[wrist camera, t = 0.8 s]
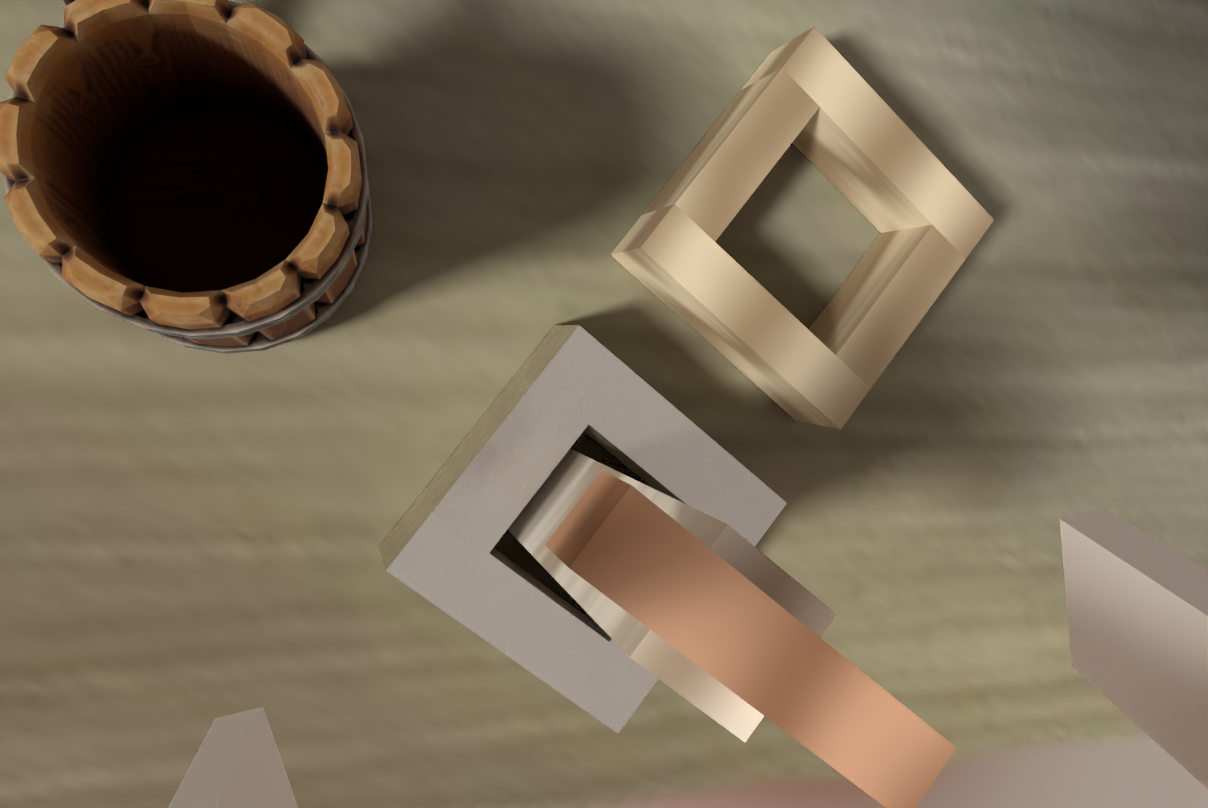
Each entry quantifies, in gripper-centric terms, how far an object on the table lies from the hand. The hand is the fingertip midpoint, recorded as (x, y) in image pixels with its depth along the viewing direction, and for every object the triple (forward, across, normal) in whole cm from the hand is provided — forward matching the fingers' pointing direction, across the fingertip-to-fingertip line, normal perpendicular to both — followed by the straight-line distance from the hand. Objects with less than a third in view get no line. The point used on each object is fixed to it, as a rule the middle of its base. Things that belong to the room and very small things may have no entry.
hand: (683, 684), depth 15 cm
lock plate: (+26, -2, -7) cm, 27 cm away
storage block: (+30, +11, +2) cm, 32 cm away
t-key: (+26, -2, -7) cm, 27 cm away
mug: (+26, -13, +11) cm, 31 cm away
